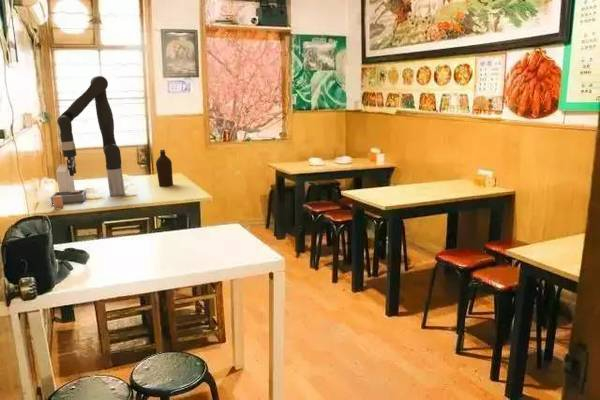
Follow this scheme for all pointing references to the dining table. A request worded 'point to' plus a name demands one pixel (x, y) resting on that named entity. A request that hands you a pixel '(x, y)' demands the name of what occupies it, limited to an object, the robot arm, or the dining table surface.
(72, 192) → the walnut cube
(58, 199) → the terracotta cylinder
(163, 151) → the olive oil
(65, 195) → the tote
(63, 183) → the milk carton
